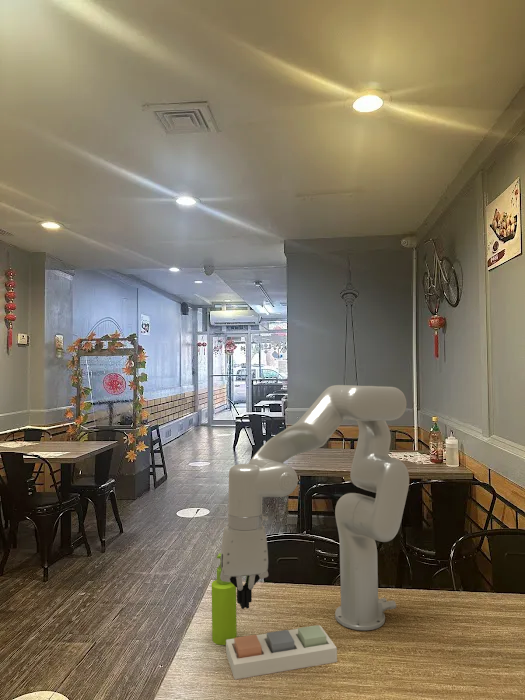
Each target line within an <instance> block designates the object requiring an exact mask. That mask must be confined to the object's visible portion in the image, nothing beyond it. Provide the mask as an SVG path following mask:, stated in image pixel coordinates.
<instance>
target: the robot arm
mask: <svg viewBox="0 0 525 700" xmlns="http://www.w3.org/2000/svg"><path fill="white" fill-rule="evenodd" d="M407 404H408V403H407V399H406V396H405V394H404V392H403V391H402V390H400V388H398V387H395V386H379V385H378V386H377V385H376V386H375V385H351V384H350V385H348V384H347V385H346V384H336V385H335V384H334V385H331V386H328V387H326V389H324V391H322V392H321V394H320V395H319V396H318V397H317V398H316V399H315V401H314V402H313V403H312V405H310V407H309V408H308V409H307V410H306V411H305V412H304V413H303V415H302V416H301V417H300V418H299V420H297V421H296V423H295V422H294V424H292V425H289V426H288V427H286V428H285V429H283V430H282V431H280V432H278V433H277V434H275V435H274V436H272V437H270V439H268V440H267V441H266V442H265V443H264V444H263V445H262V446H261V447H260V448H259V449H258V450H257V451H256V453H255V454H254V455H253V456H252V458H251V459H250V460H249V462H248V463H239V464H235V465H232V466H231V467H230V469H229V472H228V509H227V511H228V512H227V513H228V514H227V516H228V517H227V518H228V521H227V525H226V526H224V528H223V532H222V533H223V534H222V538H221V549H220V551H221V552H220V553H221V569H222V571H221V575H220V578H221V580H222V581H225V582H231V583H232V584H233V585H234V586H235V587H236V604H239V606H240V608H241V610H244V609H248V610H249V609H250V603H252V598H253V597H252V596H253V595H252V592H253V591H252V590H253V589H254V588H255V587H254V586H255V585H256V584H257V583H258V582H259V580H262V579H266V578H268V577H269V572H268V570H269V550H268V543H267V542H268V540H267V533H266V528H265V526H264V524H263V523H264V522H265V523H266V522H268V521H269V514H265V513H263V498H265V497H266V498H267V497H268V498H283V497H286V496H287V497H288V496H290V495H291V494H292V493H293V492H294V491H295V490H296V488H297V486H298V481H299V478H298V474H297V472H296V471H295V469H294V468H293V467H292V466H291V465H289V464H287V463H285V462H286V461H287V460H289V459H290V458H293V457H294V456H297V455H300V454H303V453H307V452H312V451H314V450H318V449H319V448H322V447H323V446H325V444H326V443H327V442H328V441H329V439H330V438H331V437H332V435H333V434H334V433H335V432H336V430H337V429H338V428H339V427H340V426H341V424H342V423H343V422H344V421H345V420H350V421H351V420H352V421H356V423H357V426H358V438H357V443H356V448H355V450H354V456H353V458H352V459H353V460H352V463H351V467H350V472H349V473H350V476H349V477H350V481H351V483H352V484H353V485H354V486H356V487H357V488H360V489H361V490H364V491H368V492H372V493H375V498H374V497H373V496H370V495H369V496H368V495H365V494H361V493H356V492H347V493H345V494H344V495H342V496H340V498H339V499H338V500H337V501H336V505H335V510H334V514H335V515H334V516H335V522H336V527H337V532H338V539H339V541H338V542H339V567H340V568H339V574H340V577H339V578H340V579H339V580H340V605H339V606H337V608H336V609H335V612H334V617H335V620H336V621H337V622H338V624H340V625H342V626H343V627H345V628H348V629H350V630H354V631H355V630H356V631H372V630H376V629H379V628H380V627H382V626H383V625H384V624H385V621H386V616H385V612H386V610H394V609H397V604H396V601H395V600H387V598H386V597H381V598H379V575H378V573H379V571H378V549H377V543H376V541H378V542H382V543H387V542H390V541H392V540H393V539H394V538H395V537H396V535H397V534H398V532H399V530H400V527H401V523H402V519H403V514H404V509H405V505H406V501H407V498H408V497H407V496H408V492H409V486H410V474H409V469H408V467H407V466H406V464H405V463H404V462H403V461H401V460H400V459H399V458H398V459H397V458H394V457H390V456H389V454H390V448H391V444H392V443H391V441H392V436H391V430H390V427H389V426H388V423H387V421H396V420H398V419H400V418H401V417H402V416H403V415H404V414H405V411H406V409H407ZM243 577H245V583H243Z"/></svg>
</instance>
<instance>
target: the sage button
mask: <svg viewBox="0 0 525 700" xmlns="http://www.w3.org/2000/svg"><path fill="white" fill-rule="evenodd" d="M319 626H320V625H319V624H317V625H316V624H315V625H310V626H309V625H308V626H303V627H298V628H297V629H298V638H299V639H300V641H301V643H302V644H303V646H304V647H305V648H306V647H313V646H319V645H325V644H326V635H325V634H324V632H323V631H322V630H321V628H320V627H319Z"/></svg>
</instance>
